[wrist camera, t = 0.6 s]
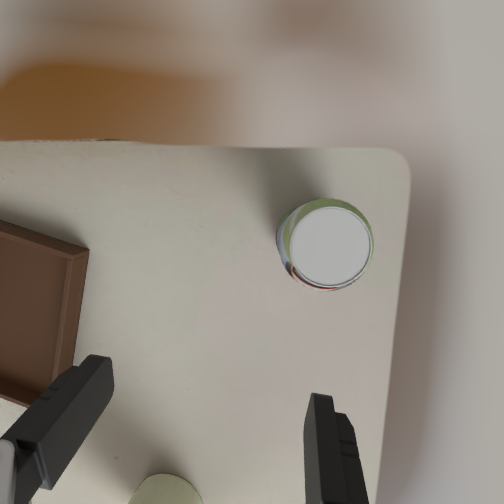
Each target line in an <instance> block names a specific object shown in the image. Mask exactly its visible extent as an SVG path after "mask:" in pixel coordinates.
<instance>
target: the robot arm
mask: <svg viewBox="0 0 504 504" xmlns="http://www.w3.org/2000/svg"><path fill="white" fill-rule="evenodd" d="M113 391H114V377H113V368H112V360H111V358H110V357H104V356H99V355H93V354H91V355H89V356H87V357H86V359H85V360H84V361H83V362H82V363H81V364H80V365H79V367H77V366H72V367H71V368H69V369H67V370H66V371H64V372H63V373H61V374H60V375H58V376H57V378H56V379H55V380H54V381H53V382H52V383H51V384H50V385H49V386H48V389H45V391H44V392H43V393H42V394H41V395H40V396H39V398H37V399H36V400H35V401H34V402H33V403H32V405H31V406H30V407H29V408H28V409H27V410H26V411H25V412H24V413H23V414H22V415H21V416H20V418H19V419H18V420H17V421H16V422H15V423H14V424H13V425H12V426H11V427H10V428H9V429H8V430H7V432H6V433H5V434H4V435H3V436H2V437H1V438H0V504H32V502H31V498H32V497H33V496H34V494H35V493H36V491H37V490H38V488H42V489H47V490H52V488H53V487H54V485H55V484H56V482H57V481H58V479H59V478H60V476H61V475H62V473H63V472H64V470H65V469H66V467H67V466H68V464H69V463H70V461H71V459H72V458H73V456H74V455H75V453H76V452H77V450H78V449H79V447H80V446H81V444H82V443H83V441H84V440H85V438H86V437H87V435H88V434H89V432H90V431H91V429H92V427H93V426H94V424H95V423H96V421H97V420H98V418H99V417H100V415H101V414H102V412H103V411H104V409H105V408H106V406H107V405H108V403H109V401H110V400H111V397H112V395H113ZM304 466H305V494H306V504H369V501H368V496H367V491H366V486H365V481H364V476H363V471H362V466H361V462H360V459H359V452H358V447H357V442H356V437H355V432H354V428H353V426H352V424H351V423H350V421H349V419H348V417H347V416H346V414H343V413H337V412H335V410H334V404H333V398H332V396H329V395H323V394H317V393H312V394H311V397H310V401H309V405H308V409H307V413H306V417H305V422H304Z"/></svg>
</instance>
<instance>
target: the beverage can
mask: <svg viewBox="0 0 504 504" xmlns="http://www.w3.org/2000/svg"><path fill="white" fill-rule="evenodd" d="M276 245H277V248H278V251H279V254H280V257H281V260H282V263H283V265H284V267H285V268H286V270H287V272H288V273H289V274H290V275H291V277H293V278H294V279H295V280H296V281H297V282H298V283H300V284H302V285H303V286H305V287H308V288H310V289H313V290H318V291H333V290H338V289H341V288H344V287H346V286H348V285H350V284H352V283H353V282H355V281H356V280H357V279H358V278H359V277H360V276H361V275H362V274H363V273H364V272H365V270H366V269H367V267H368V265H369V263H370V261H371V258H372V254H373V247H374V241H373V234H372V230H371V227H370V225H369V223H368V221H367V220H366V218H365V217H364V216H363V214H362V213H361V212H360V211H359V210H358V209H356V208H355V207H354V206H352V205H350V204H349V203H346V202H344V201H341V200H337V199H327V198H324V199H317V200H313V201H310V202H308V203H305V204H303V205H301V206H299V207H297V208H295V209H293V210H291V211H289V212H288V213H287V214H286V215H285V216H284V217H283V218H282V220H281V221H280V223H279V225H278V227H277V231H276Z"/></svg>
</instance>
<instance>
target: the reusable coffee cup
mask: <svg viewBox="0 0 504 504" xmlns="http://www.w3.org/2000/svg"><path fill="white" fill-rule="evenodd" d="M128 504H202V500H201V498H200V495H199V494H198V492H197V491H196V489H195V488H194V487H193V486H192V485H191V484H189V483H188V482H187V481H185V480H183V479H182V478H180V477H177V476H174V475H170V474H155V475H152V476H150V477H148V478H146V479H145V480H144V481H143V482H142V484H141V485H140V487H139V488H138V490H137V491H136V492H135V494H134V495H133V497H132V498H131V500H130V501H129V503H128Z"/></svg>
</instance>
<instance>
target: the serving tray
mask: <svg viewBox="0 0 504 504" xmlns="http://www.w3.org/2000/svg"><path fill="white" fill-rule="evenodd" d="M88 257H89V250H88V249H85V248H82V247H79V246H76V245H73V244H70V243H67V242H64V241H61V240H58V239H55V238H52V237H49V236H46V235H43V234H40V233H37V232H34V231H31V230H28V229H25V228H22V227H19V226H16V225H13V224H10V223H7V222H4V221H1V220H0V398H3V399H5V400H8V401H10V402H13V403H16V404H18V405H21V406H24V407H26V408H29V407H30V406H31V405H32V403H33V402H34V401H35V400H36V399H37V398H39V396H40V395H41V394H42V393H43V392H44V391H45V389H48V386H49V385H50V384H51V383H52V382H53V381H54V380H55V379H56V378H57V376H58V375H60V374H61V373H63V372H64V371H66V370H67V369H69V368H71V367H72V364H73V357H74V351H75V344H76V337H77V331H78V324H79V317H80V310H81V304H82V297H83V290H84V284H85V277H86V270H87V264H88Z"/></svg>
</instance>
